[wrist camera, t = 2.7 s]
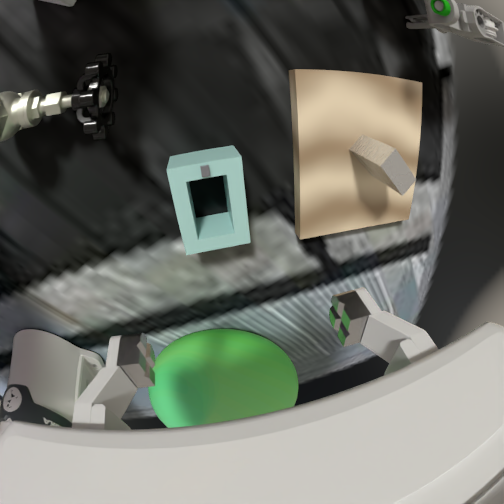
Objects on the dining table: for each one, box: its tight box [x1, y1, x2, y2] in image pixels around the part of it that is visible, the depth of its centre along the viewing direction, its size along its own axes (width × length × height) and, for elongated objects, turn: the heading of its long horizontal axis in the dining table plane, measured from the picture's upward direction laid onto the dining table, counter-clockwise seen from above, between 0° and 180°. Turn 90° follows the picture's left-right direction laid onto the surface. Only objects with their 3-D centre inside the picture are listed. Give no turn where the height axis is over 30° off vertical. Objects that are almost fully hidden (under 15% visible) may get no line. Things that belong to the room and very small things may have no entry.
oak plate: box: [289, 69, 422, 239], centre depth 24 cm, size 16×14×2 cm
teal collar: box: [167, 146, 250, 255], centre depth 23 cm, size 7×5×4 cm
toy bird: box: [148, 329, 298, 428], centre depth 31 cm, size 18×17×15 cm
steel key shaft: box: [349, 135, 416, 196], centre depth 22 cm, size 4×2×5 cm, turn 51°
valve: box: [0, 53, 118, 142], centre depth 14 cm, size 7×7×12 cm
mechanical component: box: [405, 0, 504, 47], centre depth 13 cm, size 3×10×10 cm, turn 100°
